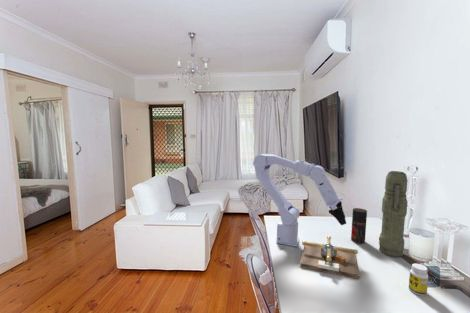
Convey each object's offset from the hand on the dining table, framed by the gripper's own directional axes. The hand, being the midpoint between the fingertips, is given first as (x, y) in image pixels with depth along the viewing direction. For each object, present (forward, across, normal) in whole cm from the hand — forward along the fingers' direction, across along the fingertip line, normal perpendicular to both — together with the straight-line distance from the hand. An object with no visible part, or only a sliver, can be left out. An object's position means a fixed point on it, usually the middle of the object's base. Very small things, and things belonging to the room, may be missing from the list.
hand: (343, 221), depth 100 cm
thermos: (+22, +11, -10) cm, 26 cm away
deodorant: (+15, +18, 0) cm, 24 cm away
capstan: (+9, -6, +11) cm, 15 cm away
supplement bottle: (+24, -16, -11) cm, 31 cm away
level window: (+9, -15, +11) cm, 21 cm away
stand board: (+10, -6, +12) cm, 16 cm away
